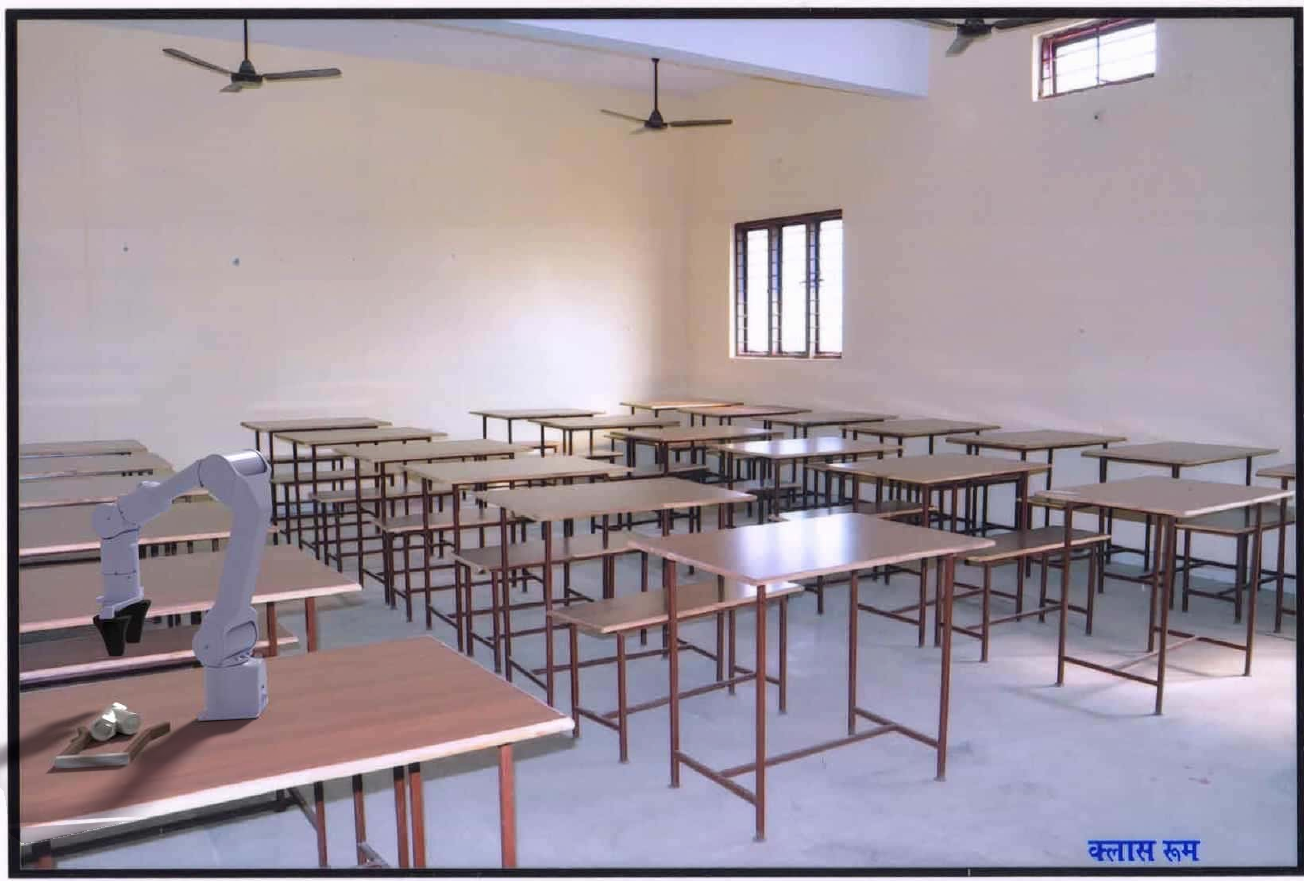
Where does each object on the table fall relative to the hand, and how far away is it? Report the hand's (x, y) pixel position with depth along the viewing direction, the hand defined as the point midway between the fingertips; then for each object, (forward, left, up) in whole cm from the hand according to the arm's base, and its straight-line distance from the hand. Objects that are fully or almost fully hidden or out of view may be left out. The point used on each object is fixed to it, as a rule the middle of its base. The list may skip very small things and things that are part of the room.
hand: (124, 649), depth 175 cm
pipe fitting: (-8, +13, -8) cm, 17 cm away
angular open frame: (-5, +23, -9) cm, 25 cm away
